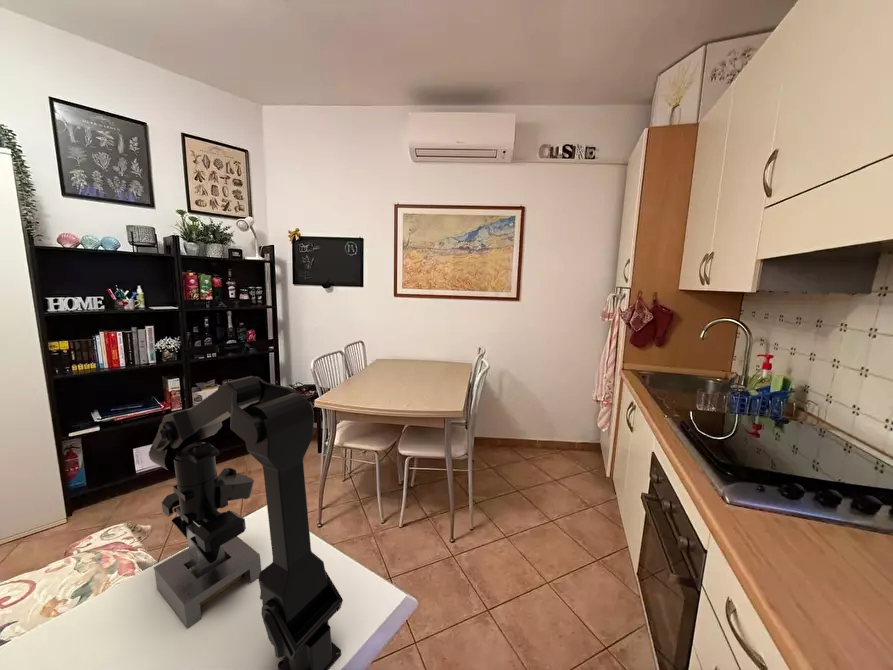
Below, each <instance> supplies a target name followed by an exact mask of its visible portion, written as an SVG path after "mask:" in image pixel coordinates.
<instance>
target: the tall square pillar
mask: <svg viewBox="0 0 893 670" xmlns="http://www.w3.org/2000/svg"><path fill="white" fill-rule="evenodd" d="M198 528H199V527H198V526H197V525H196V524H195V523H194V522H193V523H191V524H190V525H188V526H186V533H187V539H186V540H187V546H188V548H189V555H190V562H191V568H190V570H191V571H192V574H193V575H194V576H195V577H196V578H197V579H198V578H199V577H201V576H203V575H204V574H206V573H207V572H209V571H211V570H212V569H214V568H215V567H217V566H219V565H220V564H222V563H223V562H225V552H224V544H223V545H221V546H220V549H219V553H218V556H217V560H216V561H214V562H212V563H209V562H208V561H207V560H206V558H205V557H204V556H203V555H202V553H201V552H200V551H199V550H198V548H197V547H196V546H195V545H194V543H193V542H192V541H191V540H190V538H192V537H194V536H195V533H196V531H197V530H198Z"/></svg>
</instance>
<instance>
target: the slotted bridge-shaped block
mask: <svg viewBox="0 0 893 670" xmlns="http://www.w3.org/2000/svg"><path fill="white" fill-rule="evenodd" d="M224 552H225V562H223V563H222V564H220V565H219V566H217V567H215V568H214V569H212V570H211V571H209V572H207V573H206V574H204V575H203V576H201V577H199V578H198V579H197V578H196V577H195V576H194V575H193V574H192V570H191V562H190V555H189V547H188V548H186V549H184V550H183V551H181V552H179V553H177V554H175V555H173V556H172V557H170V558H168V559H166V560H164V561H162V562H161V563H158V564H157V565H156V566H153V571H154V577H155V583H156V590H157V591H158V592H159V594H160V595H161V596H162V598H163V599H164V600H165V601H166V603H167V604H168V605H169V607H170V608H171V610H172V611H173V612H174V613H175V615H176V616H177V617H178V619H179V620H180V622H182V624H183V625H184V627H186V629H189V628H191V627H192V626H193V625H195V624H196V623H197V622H199V621H200V620H202V612H201V606H203V605H204V604H205V603H207V602H209V601H210V600H212V599H214V598H215V597H216V596H218V594H220V593H221V592H224V590H226V589H228V588H229V587H230V586H232V585H233V584H235V583H236V582H238V581H239V580H240V579H242V578H245V579H246V580H247V581H248V582H249V583H250V584H252V583H254V582H255V581H256V580H259V575H260V572H261V571H262V564H261V554H259V552H258V551H256V550H255V549H253V547H251V546H250V545H248V544H247V542H245V541H243V539H241V538H240V537H239V535H238V536H236V537H235V538H233V539H231V540H230V541H228V542H226V543H224ZM190 570H191V571H190Z"/></svg>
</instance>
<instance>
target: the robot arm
mask: <svg viewBox="0 0 893 670" xmlns="http://www.w3.org/2000/svg"><path fill="white" fill-rule="evenodd" d="M256 403H258V404H256ZM252 404H255V405H252ZM250 405H252V406H250ZM249 406H250V407H249ZM247 407H249V408H248V409H247V410H246V411H245V410H244V409H246V408H247ZM314 413H315V412H314V408H313V405H312V403H311V402H310V401H309V400H308V399H307V398H306V397H304V396H302V395H301V394H300V393H298V392H296V391H295V390H294V389H292V388H290V387H287V386H283V385H281V384H280V385H279V384H275V383H270V382H267V381H265V380H264V379H262V378H261V377H260V376H255V375H254V376H253V375H250V376H246V377H241V378H237V379H233V380H230V381H229V380H228V381H226V382H224V383H222V384H220V385H219V386H218V387H217V389H216V390H215V391H214V392H212V393H211V394H209V395H208V396H207V397H205V398H203V399H202V400H200V401H199V402H198V403H196V404H195V405H193V406H192V407H189V408H186V409H183V410H180V411H176V412H172V413H169V414H165V415H164V416H163V417H162V420H161V423H160V424H159V426H158V430H157V433H156V435H155V438H154V439H153V441H152V444H151V447H150V449H149V451H148V457H149V459H150V460H151V462H153V463H154V464H157V465H158V466H160V467H161V468H163V469H165V470H167V471H169V472H172V473H175V479H176V484H175V485H173V486H172V487H173V488H172V489H173V493H170V494H168V495H166V496H165V498H163V500H162V501H161V507H162V508H161V510H162V513H164V515H166V516H167V517H168V518H169V517H170V516H173V514H174V513H175V514H176V516H175V517H174V518H171V523H172V524H173V525H174V527H175V528H177V529H178V531H180V533H181V534H182V535H183V536H184V537H185V539H186V540H187V533H186V526H188V525H190V524H191V523H193V522H194V523H195V524H196V525H197V526H198V527H199V528H198V530H197V531H196V533H195V536H194V537H192V538H190V540H191V541H192V542H193V543H194V545H195V546H196V547H197V548H198V550H199V551H200V552H201V553H202V555H203V556H204V557H205V558H206V560H207V561H208V562H209V563H212V562H214V561H216V560H217V556H218V553H219V549H220V546H221V545H223V544H224V543H226V542H228V541H230V540H231V539H233V538H235V537H236V536H238V537H239V536H240V535H241V534H243V533H245V531H246V529H247V527H246V519H245V518H244V517H243V516H241V515H240V514H239V513H237V512H235V511H233V510H227V511H224V512H219V509H224V508H226V507H227V506H229V501H230V502H231V501H236V500H242V499H244V500H246V499H249V498H251V494H252V491H253V487H254V486H253V485H254V482H255V480H254V479H252V478H251V477H249V476H248V475H246V474H242V473H239V472H238V473H237V469H235V468H233V467H230V466H229V467H224V468H223V469H222V471H220V473H219V474H218V470H217V463H216V457H217V456H219V455H220V450H218V448H216V447H215V446H214V445H212V444H211V443H210V442H208V441H207V442H203V441H200V440H204V439H206V438H209V437H211V436H215V434H217V433H218V431H220V430H221V429H222V427H223V423H222V422H223V421H225V420H227V419H228V418H230V421H229V423H230V424H229V428H230V430H231V431H232V432H233V433H235V435H237V436H238V437H239V438H240V439H242V440H243V441H244V442H245V447H246V451H247V452H248V453H249V454H250V455H251V456H252V457H253V458H254V459H255V460H256V461H257V462H258V463H260V464H261V466H262V469H263V470H262V471H263V479H264V481H263V482H264V488H265V497H266V505H267V506H266V507H267V515H268V525H269V526H268V527H269V536H270V542H271V543H270V544H271V554H272V562H271V563H270V564H269V565H267V566H266V567H265V568H264V569H261V572H260V575H259V578H258V584H259V588H260V595H259V599H260V600H261V602H262V605H261V612H260V614H261V617H262V621H263V625H264V627H265V630H266V634H267V638H268V640H269V642H270V643H271V645H272V646H273V648H274V654H275V655H274V656H275V657H276V658H277V659H280V661H278V663H277V669H278V670H330V669H331V667H332V666H333V664H335V663H336V662H337V661H338V659H339V658H340V657H341V656H342V650H341V649H340V647H338V646H337V645H336V644H335V643H334V642H333V641H332V634H331V633H332V632H331V626H330V625H329V624H330V623H329V621H330V620H331V619H332V617H333V616H334V615H335V614H336V613H337V612H338V611H340V609H341V608H342V605H343V601H344V599H343V597H342V595H341V594H340V592H339V590H338V589H337V587H336V586H335V584H334V581H332V579H331V578H330V576H329V574H328V572H327V571H326V570H327V569H326V567H325V564H324V560H323V559H321V558H320V557H319V556H318V555H316V554H315V553H314V552H313V551H312V544H311V535H310V522H309V521H310V520H309V511H308V501H307V499H308V498H307V489H306V478H305V476H306V475H305V467H304V465H305V464H304V458H305V455H306V454H307V452H308V449H309V446H310V444H311V442H312V440H313V437H314V425H315V424H314V423H315V414H314ZM281 658H282V659H281Z"/></svg>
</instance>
